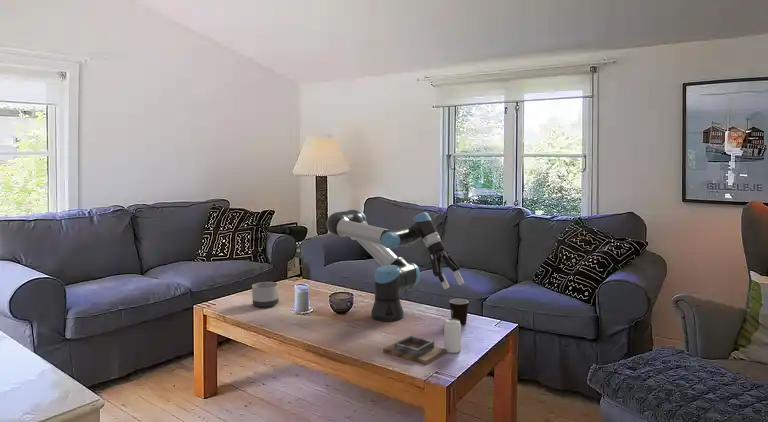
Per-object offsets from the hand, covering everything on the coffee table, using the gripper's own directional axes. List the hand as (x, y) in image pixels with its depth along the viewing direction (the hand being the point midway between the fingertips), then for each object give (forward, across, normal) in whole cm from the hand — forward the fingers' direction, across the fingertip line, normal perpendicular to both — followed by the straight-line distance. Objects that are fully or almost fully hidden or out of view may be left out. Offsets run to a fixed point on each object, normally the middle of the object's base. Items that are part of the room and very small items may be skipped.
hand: (454, 286), depth 247 cm
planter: (-34, -29, +87) cm, 98 cm away
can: (+25, -29, -3) cm, 39 cm away
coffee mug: (+15, +2, +8) cm, 17 cm away
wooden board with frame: (+20, -40, +6) cm, 45 cm away
